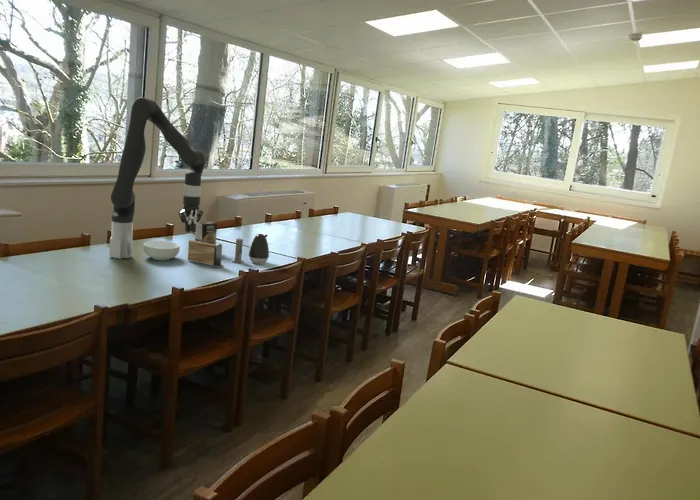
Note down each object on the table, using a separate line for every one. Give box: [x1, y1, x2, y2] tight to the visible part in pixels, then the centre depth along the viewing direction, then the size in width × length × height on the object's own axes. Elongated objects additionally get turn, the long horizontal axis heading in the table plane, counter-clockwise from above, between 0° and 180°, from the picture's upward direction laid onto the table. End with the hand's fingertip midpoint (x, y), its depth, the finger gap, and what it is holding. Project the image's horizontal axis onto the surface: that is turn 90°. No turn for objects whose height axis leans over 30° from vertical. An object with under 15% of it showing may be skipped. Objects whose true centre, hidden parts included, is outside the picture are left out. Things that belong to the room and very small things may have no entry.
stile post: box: [231, 237, 245, 265], centre depth 271 cm, size 4×4×12 cm
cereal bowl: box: [142, 240, 181, 261], centre depth 262 cm, size 17×17×7 cm
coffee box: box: [194, 221, 218, 245], centre depth 282 cm, size 9×6×16 cm
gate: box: [187, 239, 216, 266], centre depth 261 cm, size 2×14×10 cm, turn 74°
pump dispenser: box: [248, 233, 270, 265], centre depth 275 cm, size 10×10×15 cm
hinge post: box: [211, 243, 224, 269], centre depth 259 cm, size 5×5×11 cm
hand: (189, 231), depth 250 cm, fingers closed
